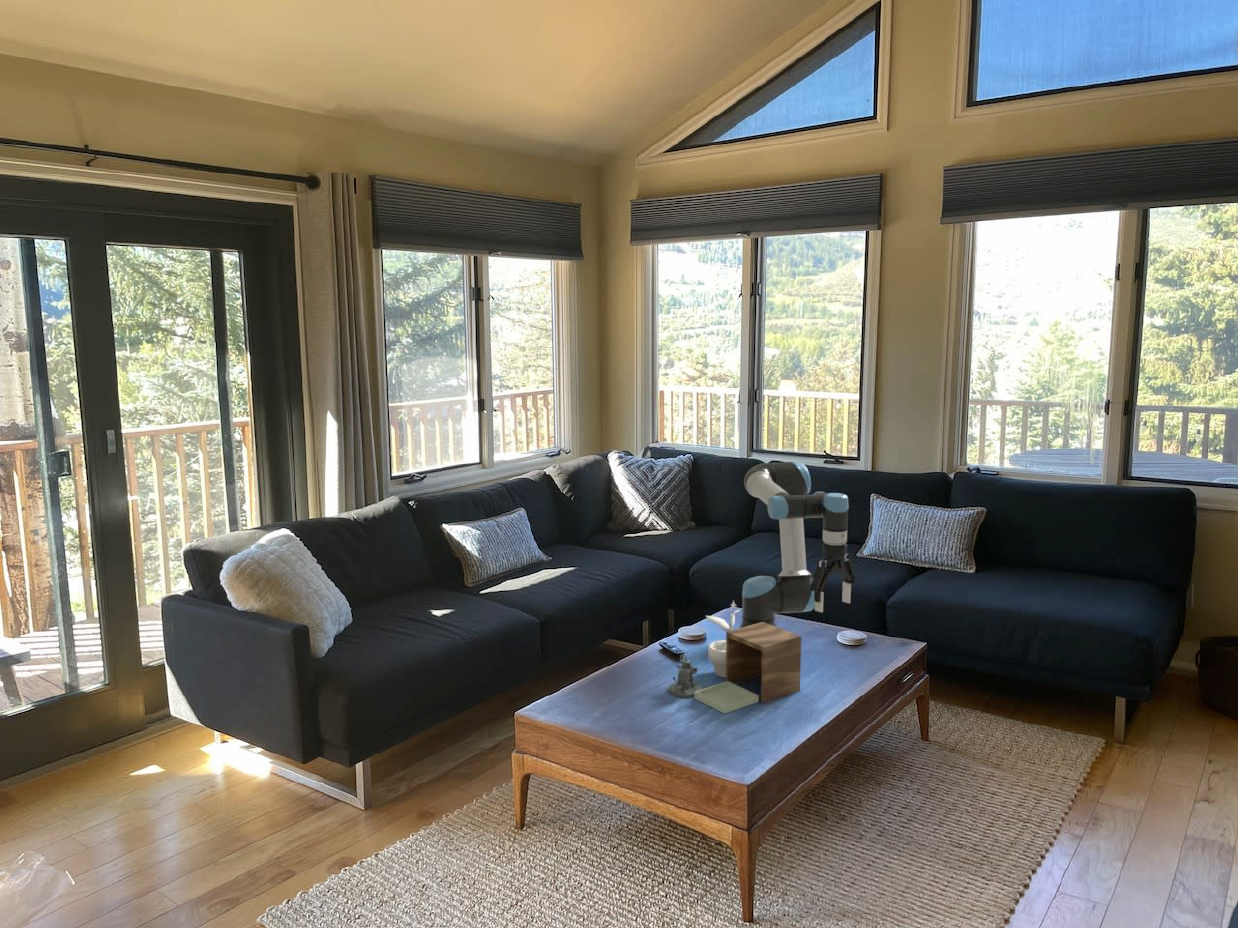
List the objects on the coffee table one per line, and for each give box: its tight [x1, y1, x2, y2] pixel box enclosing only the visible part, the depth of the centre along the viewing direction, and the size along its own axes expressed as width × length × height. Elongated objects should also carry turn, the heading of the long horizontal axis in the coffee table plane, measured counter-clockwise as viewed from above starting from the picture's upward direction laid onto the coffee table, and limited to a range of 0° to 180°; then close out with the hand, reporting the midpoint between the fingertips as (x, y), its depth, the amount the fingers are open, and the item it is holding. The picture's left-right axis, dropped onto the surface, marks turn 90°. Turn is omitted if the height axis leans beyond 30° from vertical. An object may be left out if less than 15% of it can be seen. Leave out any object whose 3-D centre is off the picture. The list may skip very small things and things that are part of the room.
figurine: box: [668, 653, 703, 699], centre depth 302 cm, size 11×11×12 cm
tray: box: [693, 680, 760, 714], centre depth 296 cm, size 14×14×2 cm
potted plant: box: [705, 599, 741, 679], centre depth 314 cm, size 13×12×25 cm
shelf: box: [725, 622, 802, 704], centre depth 303 cm, size 17×16×18 cm
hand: (832, 606), depth 307 cm, fingers open, 13 cm apart
